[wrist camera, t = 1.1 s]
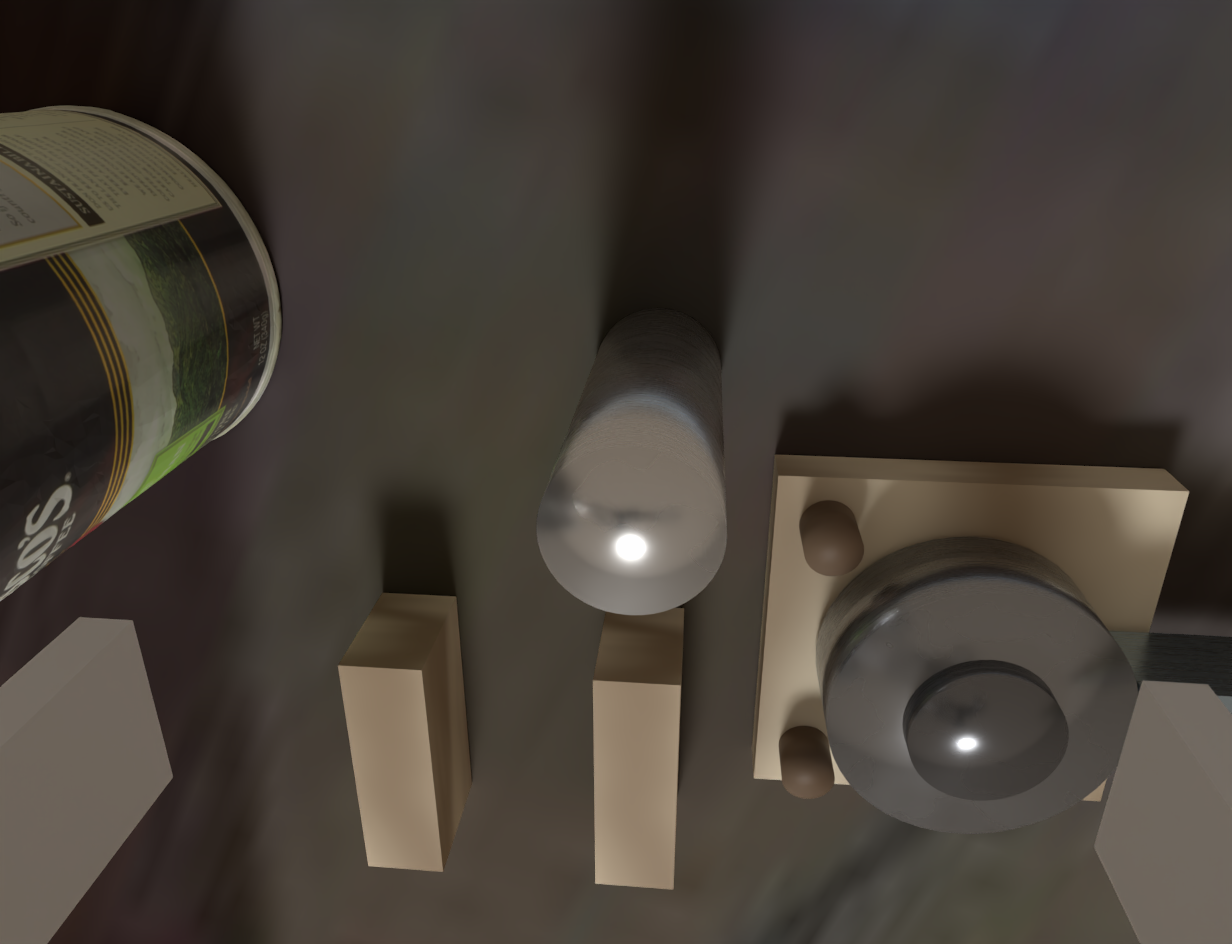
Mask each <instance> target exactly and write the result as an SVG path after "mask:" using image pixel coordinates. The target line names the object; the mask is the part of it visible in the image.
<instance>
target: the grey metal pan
mask: <svg viewBox="0 0 1232 944" xmlns="http://www.w3.org/2000/svg"><path fill="white" fill-rule="evenodd" d="M816 670H817V677H818V683H819V688H820V694H821V700H822V706H823V711H824V717H825V723H826V729H827V734H828V740H829V745H830V748H831V751H832V754H833V757H834V760H835V762H836V764H837V766H838V768H839V770H840V771H841V773H842V774H843V776H844V777H845V779H846V780H847V781H848V783H849V784H850V785H851V786H852V787H853V788H854V789H855V790H856V791H857V792H858V794H859V795H860V796H862V797H863V798H864V799H865V800H867V801H868V802H869V803H870V804H872V805H873V806H875V807H876V808H878V809H880V810H881V811H883V812H884V813H886V814H888V815H890V816H892V817H894V818H897V819H899V820H901V821H903V822H906V823H909V824H912V825H915V826H918V827H922V828H926V829H931V830H935V831H942V832H950V833H968V834H977V833H991V832H999V831H1005V830H1011V829H1016V828H1019V827H1023V826H1027V825H1031V824H1034V823H1037V822H1039V821H1042V820H1045V819H1047V818H1050V817H1052V816H1054V815H1056V814H1058V813H1060V812H1062V811H1064V810H1066V809H1068V808H1070V807H1071V806H1073V805H1075V804H1076V803H1078V802H1079V801H1081V800H1083V799H1084V798H1085V797H1086V796H1088V795H1089V794H1090V793H1092V792H1093V791H1094V790H1095V789H1097V788H1098V787H1099V786H1100V785H1101V784H1102V783H1103V782H1104V781H1105V780H1106V779H1107V778H1108V777H1109V776H1110V775H1111V773H1112V772H1113V771H1114V769H1115V768H1116V767H1117V766H1118V762H1119V759H1120V756H1121V752H1122V749H1123V745H1124V742H1125V738H1126V735H1127V732H1128V728H1129V725H1130V721H1131V718H1132V714H1133V711H1134V708H1135V704H1136V701H1137V697H1138V694H1139V690H1140V687H1141V684H1142V680H1143V681H1159V682H1176V683H1193V684H1208V685H1209V686H1210V688H1211V689H1212V690H1213V691H1214V693H1215V694H1216V695H1217V697H1218V698H1219V699H1220V700H1221V702H1222V703H1223V704H1224V705H1225V707H1226V708H1227V709H1228V711H1229V712H1230V713H1231V714H1232V637H1223V636H1203V635H1184V634H1164V633H1145V632H1125V631H1108V629H1107V628H1106V626H1105V625H1104V624H1103V622H1102V621H1101V619H1100V618H1099V616H1098V615H1097V613H1096V612H1095V611H1094V609H1093V608H1092V606H1091V605H1090V603H1089V602H1088V601H1087V599H1086V598H1085V596H1084V595H1083V593H1082V592H1081V590H1080V589H1079V588H1078V587H1077V585H1076V584H1075V583H1074V581H1073V580H1072V579H1071V578H1070V577H1069V576H1068V575H1067V574H1066V573H1065V572H1064V571H1063V570H1062V569H1061V568H1060V567H1059V566H1057V565H1056V564H1054V563H1053V562H1052V561H1050V560H1049V559H1047V558H1046V557H1044V556H1042V555H1040V554H1038V553H1036V552H1034V551H1032V550H1030V549H1028V548H1026V547H1023V546H1020V545H1017V544H1014V543H1011V542H1007V541H1002V540H998V539H993V538H984V537H949V538H941V539H934V540H930V541H926V542H921V543H917V544H914V545H911V546H909V547H906V548H903V549H900V550H898V551H896V552H893V553H891V554H889V555H887V556H885V557H883V558H881V559H880V560H878V561H877V562H875V563H873V564H872V565H870V566H869V567H867V568H866V569H865V570H863V571H862V572H861V573H860V574H858V575H857V576H856V577H855V578H854V579H852V580H851V581H850V583H849V584H848V585H847V586H846V587H845V588H844V589H843V590H842V591H841V592H840V593H839V595H838V596H837V598H836V599H835V600H834V602H833V603H832V604H831V606H830V608H829V610H828V612H827V614H826V616H825V618H824V620H823V622H822V625H821V628H820V631H819V634H818V639H817V645H816Z"/></svg>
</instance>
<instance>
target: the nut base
mask: <svg viewBox="0 0 1232 944" xmlns="http://www.w3.org/2000/svg"><path fill="white" fill-rule="evenodd" d="M1188 495H1189V491H1188V490H1187V489H1186V488H1185V487H1184V486H1183V485H1182V484H1181V483H1179V482H1178V481H1177V480H1176V479H1175V478H1174V477H1173V476H1172V475H1171V474H1170V473H1168V472H1167V471H1166V470H1165V469H1155V468H1128V467H1101V466H1073V465H1046V464H1019V463H992V462H965V461H937V460H910V459H883V458H856V457H829V456H801V455H775V460H774V472H773V485H772V498H771V511H770V523H769V536H768V549H767V561H766V574H765V587H764V600H763V612H762V625H761V638H760V650H759V663H758V676H757V689H756V701H755V714H754V727H753V739H752V757H753V773H754V778H757V779H772V780H782V783H783V785H784V787H785V789H786V790H787V791H788V792H789V793H791V794H792V795H794V796H796V797H799V798H805V799H812V798H817V797H820V796H823V795H824V794H826V793H827V792H829V791H830V789H831V788H832V787H833V785H834V784H847V785H850V784H849V783H848V781H847V780H846V779H845V777H844V776H843V774H842V773H841V771H840V770H839V768H838V766H837V764H836V762H835V760H834V757H833V754H832V751H831V748H830V745H829V740H828V734H827V729H826V723H825V717H824V711H823V706H822V700H821V694H820V688H819V683H818V677H817V670H816V645H817V639H818V634H819V631H820V628H821V625H822V622H823V620H824V618H825V616H826V614H827V612H828V610H829V608H830V606H831V604H832V603H833V602H834V600H835V599H836V598H837V596H838V595H839V593H840V592H841V591H842V590H843V589H844V588H845V587H846V586H847V585H848V584H849V583H850V581H851V580H852V579H854V578H855V577H856V576H857V575H858V574H860V573H861V572H862V571H863V570H865V569H866V568H867V567H869V566H870V565H872V564H873V563H875V562H877V561H878V560H880V559H881V558H883V557H885V556H887V555H889V554H891V553H893V552H896V551H898V550H900V549H903V548H906V547H909V546H911V545H914V544H917V543H921V542H926V541H930V540H934V539H941V538H949V537H984V538H993V539H998V540H1002V541H1007V542H1011V543H1014V544H1017V545H1020V546H1023V547H1026V548H1028V549H1030V550H1032V551H1034V552H1036V553H1038V554H1040V555H1042V556H1044V557H1046V558H1047V559H1049V560H1050V561H1052V562H1053V563H1054V564H1056V565H1057V566H1059V567H1060V568H1061V569H1062V570H1063V571H1064V572H1065V573H1066V574H1067V575H1068V576H1069V577H1070V578H1071V579H1072V580H1073V581H1074V583H1075V584H1076V585H1077V587H1078V588H1079V589H1080V590H1081V592H1082V593H1083V595H1084V596H1085V598H1086V599H1087V601H1088V602H1089V603H1090V605H1091V606H1092V608H1093V609H1094V611H1095V612H1096V613H1097V615H1098V616H1099V618H1100V619H1101V621H1102V622H1103V624H1104V625H1105V626H1106V628H1107V629H1108V631H1125V632H1145V633H1149V630H1150V627H1151V623H1152V620H1153V616H1154V613H1155V609H1156V606H1157V602H1158V599H1159V595H1160V592H1161V588H1162V585H1163V581H1164V578H1165V575H1166V571H1167V568H1168V564H1169V561H1170V557H1171V554H1172V550H1173V547H1174V543H1175V540H1176V536H1177V533H1178V529H1179V526H1180V522H1181V519H1182V515H1183V512H1184V509H1185V505H1186V502H1187V498H1188ZM1106 780H1107V779H1106ZM1106 780H1105V781H1104V782H1103V783H1102V784H1101V785H1100V786H1099V787H1098V788H1097V789H1095V790H1094V791H1093V792H1092V793H1090V794H1089V795H1088V796H1086V797H1085V798H1084V799H1083V800H1088V801H1100V800H1101V797H1102V793H1103V790H1104V786H1105V783H1106Z"/></svg>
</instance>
